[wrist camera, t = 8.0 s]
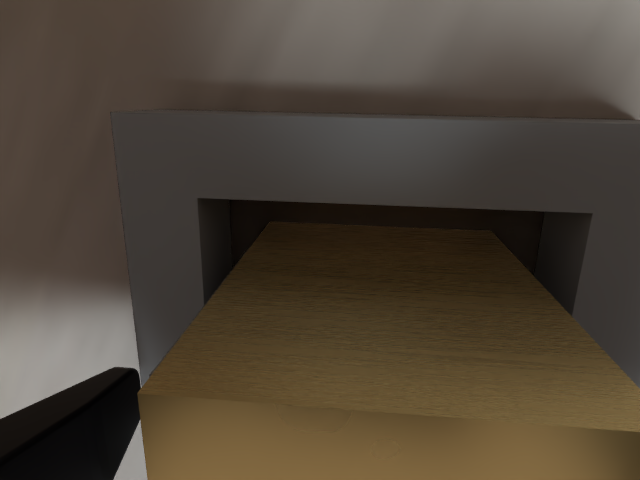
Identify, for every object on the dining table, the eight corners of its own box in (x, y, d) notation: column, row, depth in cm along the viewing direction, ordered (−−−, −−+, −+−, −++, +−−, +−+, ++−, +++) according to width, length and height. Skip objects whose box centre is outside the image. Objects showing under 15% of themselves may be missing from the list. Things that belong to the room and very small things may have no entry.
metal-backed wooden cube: (258, 401, 12) (146, 716, 6) (253, 220, 11) (97, 390, 4) (481, 418, 12) (612, 782, 5) (509, 231, 10) (733, 438, 4)
